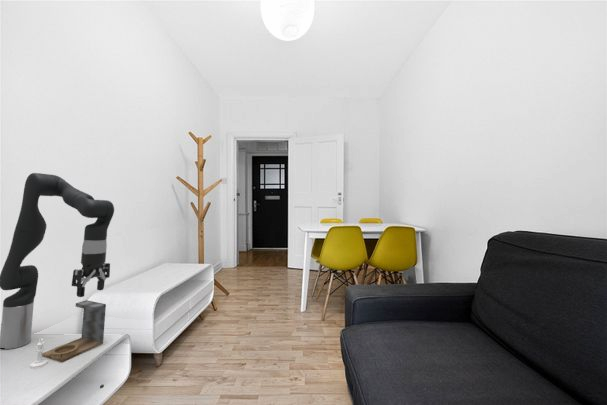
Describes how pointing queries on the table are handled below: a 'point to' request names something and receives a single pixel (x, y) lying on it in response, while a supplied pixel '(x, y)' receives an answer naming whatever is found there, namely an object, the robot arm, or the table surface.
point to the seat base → (83, 333)
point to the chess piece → (39, 356)
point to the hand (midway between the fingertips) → (90, 293)
